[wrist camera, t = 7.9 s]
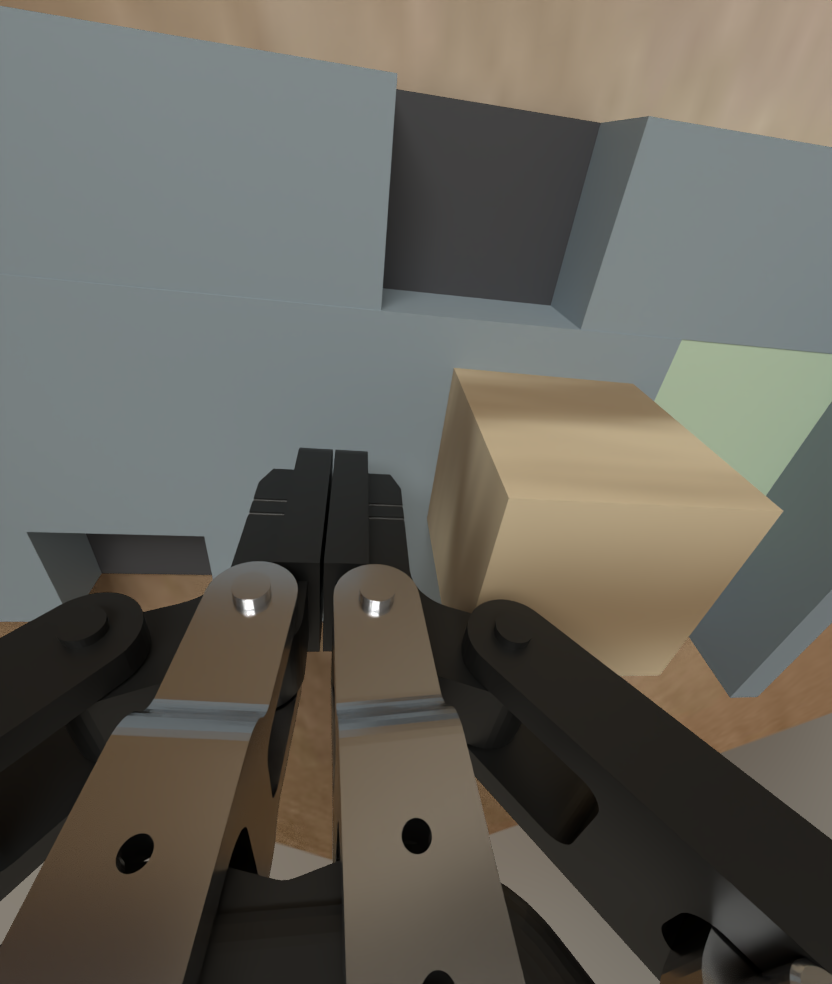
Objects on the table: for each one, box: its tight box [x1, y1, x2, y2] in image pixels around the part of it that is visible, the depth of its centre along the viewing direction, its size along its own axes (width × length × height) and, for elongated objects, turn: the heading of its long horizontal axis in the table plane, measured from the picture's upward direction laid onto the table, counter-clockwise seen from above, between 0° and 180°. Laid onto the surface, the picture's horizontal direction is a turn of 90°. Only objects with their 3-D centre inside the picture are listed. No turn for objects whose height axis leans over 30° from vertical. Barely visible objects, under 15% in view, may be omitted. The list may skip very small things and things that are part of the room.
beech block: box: [427, 368, 783, 676], centre depth 10 cm, size 4×4×5 cm
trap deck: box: [0, 6, 832, 698], centre depth 11 cm, size 14×28×5 cm, turn 83°
